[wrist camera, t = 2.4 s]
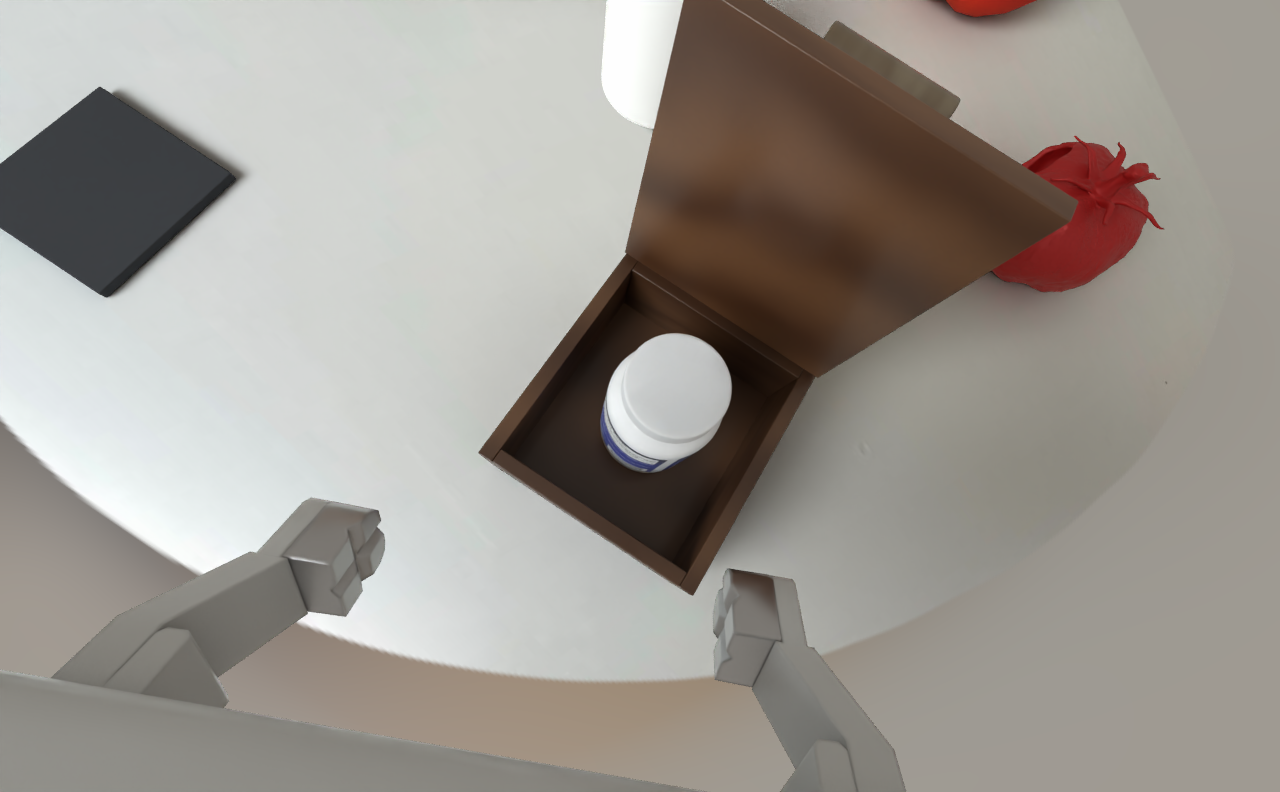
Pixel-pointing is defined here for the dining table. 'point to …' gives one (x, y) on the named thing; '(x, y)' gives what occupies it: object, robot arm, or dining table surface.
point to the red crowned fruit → (1083, 217)
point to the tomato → (986, 6)
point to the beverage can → (638, 55)
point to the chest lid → (820, 185)
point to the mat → (104, 190)
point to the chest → (615, 495)
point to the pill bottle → (664, 402)
